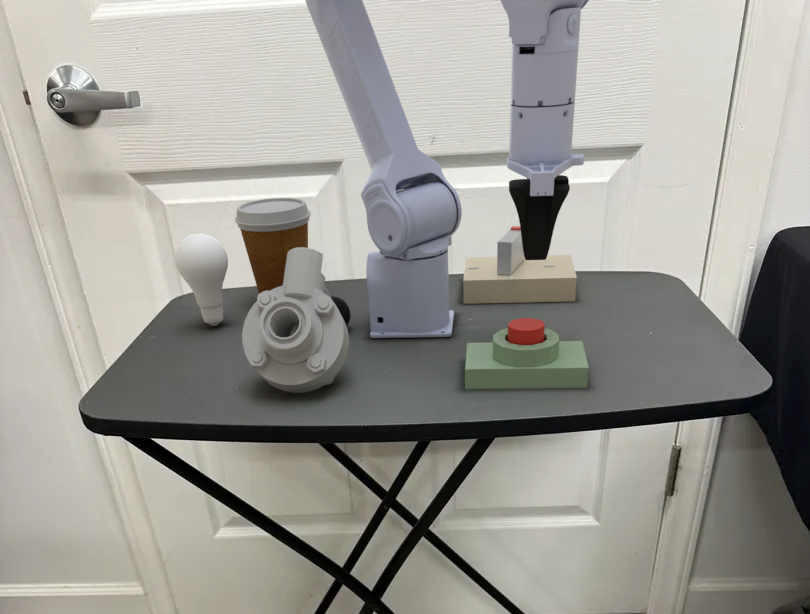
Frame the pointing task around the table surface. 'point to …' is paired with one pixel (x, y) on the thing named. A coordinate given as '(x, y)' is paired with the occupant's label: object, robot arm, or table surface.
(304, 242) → the disposable coffee cup
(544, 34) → the robot arm
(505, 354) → the button box
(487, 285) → the tan base
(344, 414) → the table surface
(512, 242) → the red-topped grey block
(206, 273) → the lightbulb
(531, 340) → the button
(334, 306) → the centrifugal pump
